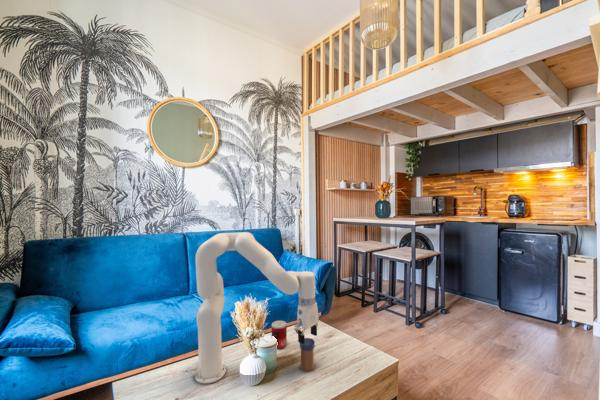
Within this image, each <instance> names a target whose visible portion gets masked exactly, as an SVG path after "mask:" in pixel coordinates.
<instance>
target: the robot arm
mask: <svg viewBox="0 0 600 400" xmlns="http://www.w3.org/2000/svg"><path fill="white" fill-rule="evenodd" d="M232 251H233V252H234V251H236V252H237V253H239V254H240V255H241V256H242V257H244V258H245V259H246V260H247V261H248V262H250V263H251V264H252V265H253V266H254V267H256V268H257V270H259V271H260V272H261V273H262V275H264V276H265V277H266V279H268V281H269V282H270V283H271V284H273V286H275V287H276V288H277V289H278V290H279V291H281V292H282V293H284V294H285V295H288V296H289V295H290V296H292V295H295V294H296V293H298V301H297V303H298V305H297V313H296V324H295V325H294V327H293V329H294V331H295V333H296V334H297V342H298V343H299V344H300V343H302V344H305V338H306V337H305V331H307V330H309V329H310V335H312V336H314V337H317V336H318V323H319V320H320V316H321V315H320V314H319V309H318V308H319V307H318V303H317V300H316V275H315V273H314V271H313V272H312V271H308V270H307V271H306V270H304V271H294V270H285V268H283V267H282V266H281V265H280V264H279V262H278V261H277V259H276V258H275V256H274V255H273V254H272V252H271V251H269V250H268V249H267V248H265V247H264V246H263V245H262V244H261V243H259V242H258V241H257V240H256V237H255V236H254V234H252V233H251V232H250V231H249V232H248V231H243V232H242V231H239V232H221V233H216V234H215V235H213V236H211V237H210V238H208V239H207V240H205V241H204V242H203V243H201V245H200V246H198V249H197V250H196V253H195V256H194V257H195V258H194V259H195V262H194V263H195V277H196V292H197V295H198V296H199V297H200V299H202V300H203V302H202V303H201V304H200V306H199V307H198V310H197V313H196V326H197V343H198V344H197V345H198V346H197V348H198V350H197V351H198V353H197V355H198V361H197V365H195V366H190V367H187V369H186V370H187V372H186V374H189V376H193V375H194V380H195V381H196V382H197V383H200V384H212V383H215V382H217V381H219V380H221V379H222V378H224V376H225V374H226V372H227V371H226V366H225V365H224V364H223V354H222V353H223V349H222V347H223V346H222V345H223V344H222V341H223V340H222V323H221V316H222V313H223V311H224V308H225V288H224V279H223V277H222V274H220V272H218V265H217V258H218V257H220V256H221V255H223V254H225V252H232Z"/></svg>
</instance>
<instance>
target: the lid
mask: <svg viewBox="0 0 600 400" xmlns="http://www.w3.org/2000/svg"><path fill="white" fill-rule="evenodd" d="M315 343H316V342H315V339H313V338H312V337H311V338H310V337H305V344H302V343H299V349H300V350H301V349H302V350H304V351H311V350H313V349H314V350H315Z"/></svg>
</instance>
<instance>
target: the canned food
mask: <svg viewBox="0 0 600 400" xmlns="http://www.w3.org/2000/svg"><path fill="white" fill-rule="evenodd" d="M287 329H288V328H287V322H286V321H284V320H274V321H273V322H272V323H271V337H272V336H274V337H275V338H276V339H277V342H278V345H277V349H276V350H280V349H284V348H285V347H286V346H287V344H288V343H287V341H288V337H287V335H288V334H287V333H288V330H287Z"/></svg>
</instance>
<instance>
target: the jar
mask: <svg viewBox="0 0 600 400" xmlns="http://www.w3.org/2000/svg"><path fill="white" fill-rule="evenodd" d="M314 354H315V348H314V349H313V350H311V351H304V350H302V349H301V348H300V369H301V370H302V371H304V372H311V371H313V370H314V368H315V355H314Z"/></svg>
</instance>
